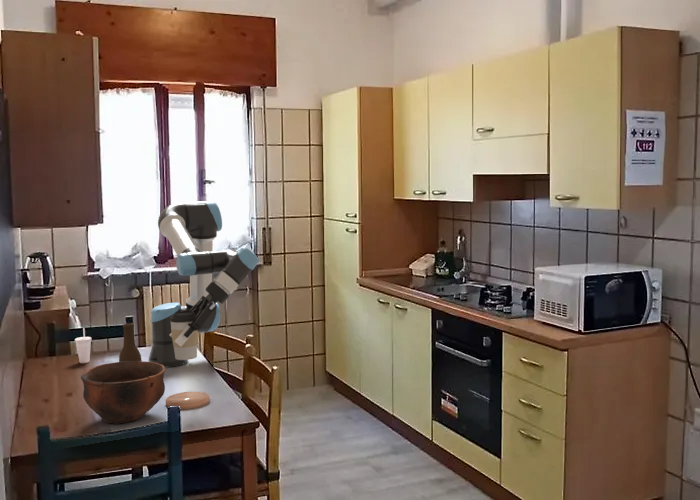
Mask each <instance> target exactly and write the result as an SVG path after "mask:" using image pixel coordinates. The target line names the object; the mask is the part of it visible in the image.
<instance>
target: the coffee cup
mask: <svg viewBox="0 0 700 500" xmlns="http://www.w3.org/2000/svg"><path fill="white" fill-rule="evenodd" d="M195 317H196V315H195V313H194V312H192V311H191V310H184V311H182V312H176V313H173V315H172V316H171V317H170V322H171V333H172V340H173V346H174V352H175V359H177V360H188V361H189V360H193V359H196V358H197V356H198V340H199V337H198V336H199V333H198V330H196V331H195V332H194V333H193V334H192V335H191V336H190V337H189V338H188V340H187V341H186V342H185V343H184V344H183V345H182V346H179V345H178V344H177V343H176V342H174V341H175V340H176V339H177V338H178V336H179V335H180V334H181V333H182V332H183V331H184V330H185V328H186V327H187V326H188V324H189V323H190V324H191V323H192V321H193V320H194V318H195ZM189 327H190V326H189Z"/></svg>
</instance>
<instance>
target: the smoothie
mask: <svg viewBox="0 0 700 500" xmlns="http://www.w3.org/2000/svg"><path fill="white" fill-rule="evenodd" d="M82 332H83V333H82V334H83V336H80V337H76V338H75V339H74V342H75V345H76V349H77V355H78V361H79V363H80V364H86V363H89V362H90V359H91V358H90V357H91V356H90V355H91V346H92V345H91V342H92V337H91V336H86V330H85V327H83V328H82Z"/></svg>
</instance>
